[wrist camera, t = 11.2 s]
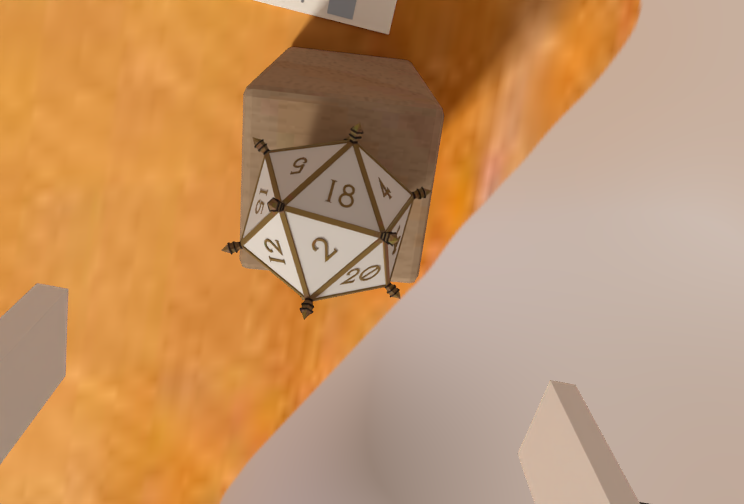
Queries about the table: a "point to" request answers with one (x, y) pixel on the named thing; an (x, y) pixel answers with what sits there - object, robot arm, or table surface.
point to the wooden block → (347, 126)
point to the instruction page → (346, 11)
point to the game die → (327, 219)
